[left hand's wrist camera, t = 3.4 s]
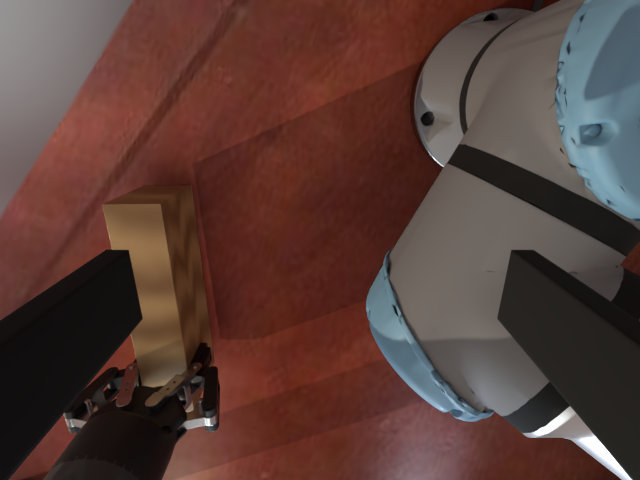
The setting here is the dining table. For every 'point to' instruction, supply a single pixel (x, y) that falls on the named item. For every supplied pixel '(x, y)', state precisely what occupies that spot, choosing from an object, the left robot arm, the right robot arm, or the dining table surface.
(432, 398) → the left robot arm
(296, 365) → the dining table surface
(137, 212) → the bar
